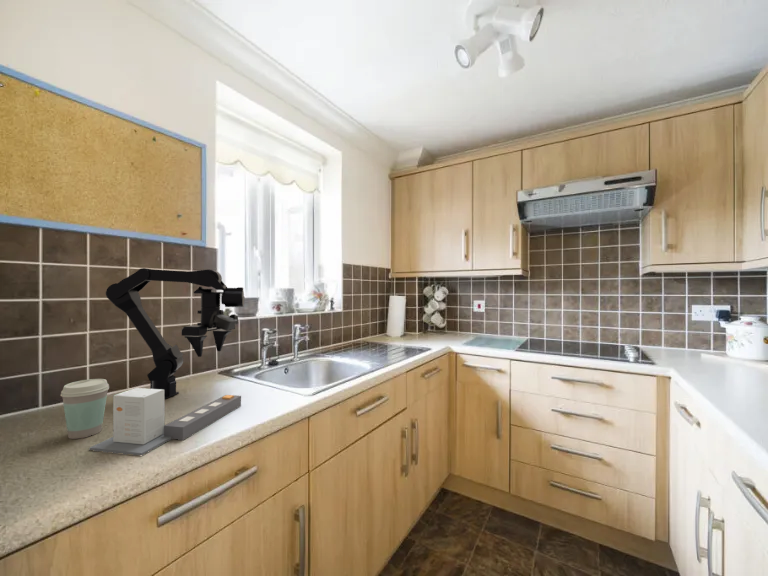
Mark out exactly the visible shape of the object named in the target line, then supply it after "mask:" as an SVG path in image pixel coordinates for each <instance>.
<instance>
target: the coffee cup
mask: <svg viewBox="0 0 768 576" xmlns="http://www.w3.org/2000/svg"><path fill="white" fill-rule="evenodd" d="M109 389H110V384H109V383H108V381H107V379H104V378H91V379H81V380H78V381H73V382H70V383H66V384H65V385H64V386H63V388H62V390H61V391H60V397H62V404H63V411H64V415H65V416H64V417H65V418H64V419H65V424H66V431H67V432H66V433H67V437H68V439H73V440H76V439H84V438H89V437H90V436H91V435H92V436H94V435H96V434H99V433H100V432H101V431H102V429H103V422H104V416H105V410H106V404H107V397H108V390H109Z"/></svg>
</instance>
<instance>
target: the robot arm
mask: <svg viewBox="0 0 768 576" xmlns="http://www.w3.org/2000/svg"><path fill="white" fill-rule="evenodd" d="M222 279H223V278H222V275H221V273H220V272H219V271H217V270H213V269H200V270H192V271H190V270H189V271H185V270H183V271H182V270H169V269H151V268H146V267H142V268H139V269H138V270H137V271H135V272H134V273H133V274H131V275H129V276H127V277H125V278H123V279H121V280H120V281H119V282H117V283H115V282H114V283H113V284H111V285H108V287H107V289H106V291H105V296H106V298H107V299H108V300H109V301H110V302H111V303H112V304H113V305H114V306H115V307H116V308H118V309H119V310H120V311H122V312H124V314H125V315H126V316H127V317H128V319H129V320H130V322H131V323H132V324H133V326H134V327H135V329H136V331H137V332H138V333H139V334H140V336H141V337H142V339H143V341H144V342H145V343H146V345H147V346H148V348H149V350H150V351H151V353H152V354H151V355H152V361H153V362H154V363H153V364H154V366H155V367H154V368H153V369H152V370H151V371H149V372H148V373H147V374H146V376H147V378H148V381H150V383H149V384H150V386H149V389H162V390H164V400H166V399H168V398H170V397H173V396H176V395H178V394H180V391H177V380H176V376H175V374H176V372H177V371H178V370H179V368H181V367H182V366H183V363H184V357H183V356H184V355H185V354H184V353H183V352H181V350H180V347H179V346H178V345H177V344H175V345H173V346H171V345H170V344H169V343H167V341H166V339H165V338H164V337H163V335H162V334H161V332H160V331H159V329H158V328H157V327H156V325H155V323H154V322H153V320H152V319H151V318H150V316H149V315H148V313H147V311H146V310H145V309H144V307H143V305H142V298H141V295H140V294H139V292H141V291H142V290H143V289H145V287H146V286H147V285H148V284H149V283H151V281H154V282H170V283H171V282H172V283H176V282H177V283H189V284H193V285H197V286H198V288H197V289H196V290H194V291H193V293H194V294H200V309H198V310H197V314H200V322H197V325H195V324H194V325H193V324H192V325H184V326H183V327H182V328H181V330H180V331H181V332H180V333H181V336H184V338H185V339H187V341H188V342H189V344H190V345H191V347H192V349H193V351H194V352H195V354H196V355H197V357H199V358H200V357H203V350H204V341H205V339H206V338H207V337H208V335H206V334H207V332H211V331H212V334H213V339H214V344H215V348H216V351H217V352H221V351H222V349H223V345H224V342H225V340H226V339H227V336H228V335H229V334H231V333H232V332H233V330H235V329H236V325H239V316H238V315H237V314H235V313H234V314H233V313H232V314H230V315H225V312H224V310H223V309H221V304H222V305H224V307H225V308H244V306H245V294H244V293H245V292H244V287H239V286H238V287H228V286H227V285H226V284H225V283H224V282H223V280H222ZM204 287H208V288H204ZM214 289H215V290H217V291H215V290H214Z"/></svg>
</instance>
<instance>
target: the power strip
mask: <svg viewBox="0 0 768 576" xmlns="http://www.w3.org/2000/svg"><path fill="white" fill-rule="evenodd" d="M241 406H242V395H235V394H233V395H231V394H224V395H222V396H221V397H217V398H216V399H214V400H213V401H211V402H209V403H207V404H204V405H203V406H200V407H199V408H195V410H192V411H191V412H188V413H186V414H184V415H182V416H181V417H179V418H176V419H174V420H173V421H171V422H169V423H167V424H165V425H164V436H169V437H171V440H173V439H178V440H177V441H184V439H185V440H186V439H188V438H190V437H191V436H193V435H194V433H195V434H196V433H198V432H199V430H200V431H201V430H203V429H205V428H206V427H208V426H210V425H212V424H213V423H215V422H217V421H219V420H220V419H221V418H224V417H225V416H226V415H228V414H230V413H231V412H233V411H235V410H237V409H238V408H240V407H241ZM192 434H193V435H192ZM189 436H190V437H189ZM187 437H188V438H187Z"/></svg>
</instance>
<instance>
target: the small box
mask: <svg viewBox="0 0 768 576" xmlns="http://www.w3.org/2000/svg"><path fill="white" fill-rule="evenodd" d="M112 397H113V404H112V405H113V410H112V413H113V415H112V416H113V417H112V418H113V421H112V422H113V431H112V432H113V433H112V434H113V436H112V437H113V441H114V442H121V443H132V444H143V445H144V444H146V443H148V442H149V441H151V440H153V439H155V438H157V437H159V436H160V435H162V434H164V425H166V424H165V399H164V390H162V389H150V388H145V387H142V388H141V387H135V388H131V389H129V390H126V391H123V392H120V393H117V394H114V395H113V396H112Z"/></svg>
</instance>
